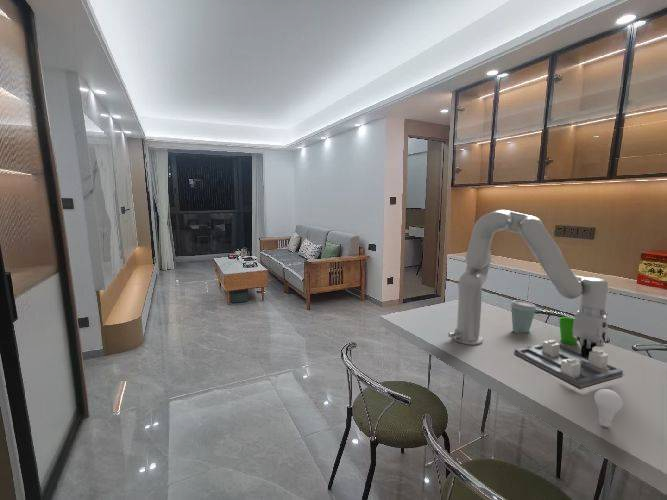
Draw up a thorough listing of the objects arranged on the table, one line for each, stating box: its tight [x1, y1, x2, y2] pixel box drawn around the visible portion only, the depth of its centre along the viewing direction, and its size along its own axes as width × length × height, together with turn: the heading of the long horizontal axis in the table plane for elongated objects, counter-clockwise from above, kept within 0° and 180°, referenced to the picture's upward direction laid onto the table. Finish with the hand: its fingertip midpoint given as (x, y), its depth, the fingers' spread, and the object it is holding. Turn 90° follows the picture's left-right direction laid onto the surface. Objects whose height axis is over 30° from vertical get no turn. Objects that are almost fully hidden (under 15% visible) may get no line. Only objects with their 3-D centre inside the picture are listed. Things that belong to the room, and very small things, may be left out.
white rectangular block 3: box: [588, 349, 609, 368], centre depth 124 cm, size 4×4×6 cm
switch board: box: [513, 342, 624, 390], centre depth 128 cm, size 22×26×2 cm
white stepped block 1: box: [542, 339, 561, 357], centre depth 133 cm, size 4×4×6 cm
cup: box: [558, 316, 579, 345], centre depth 145 cm, size 9×9×11 cm
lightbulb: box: [593, 388, 623, 428], centre depth 94 cm, size 6×6×11 cm
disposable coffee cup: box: [510, 299, 537, 335], centre depth 158 cm, size 11×11×15 cm
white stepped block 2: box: [560, 358, 581, 378], centre depth 118 cm, size 4×4×6 cm
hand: (585, 356), depth 129 cm, fingers closed
